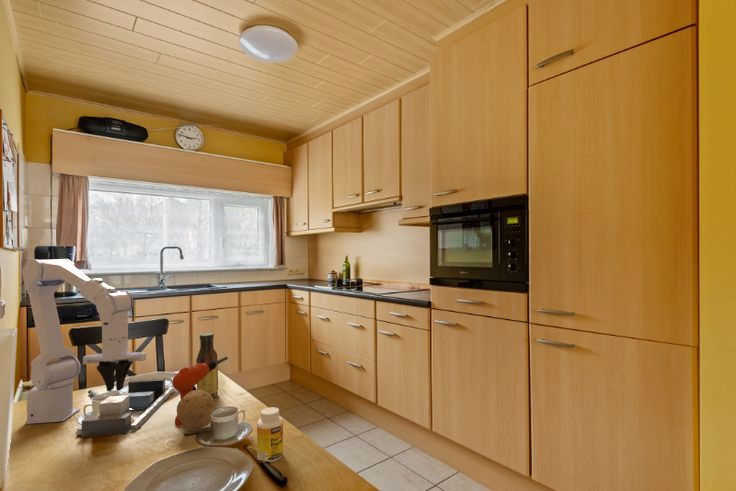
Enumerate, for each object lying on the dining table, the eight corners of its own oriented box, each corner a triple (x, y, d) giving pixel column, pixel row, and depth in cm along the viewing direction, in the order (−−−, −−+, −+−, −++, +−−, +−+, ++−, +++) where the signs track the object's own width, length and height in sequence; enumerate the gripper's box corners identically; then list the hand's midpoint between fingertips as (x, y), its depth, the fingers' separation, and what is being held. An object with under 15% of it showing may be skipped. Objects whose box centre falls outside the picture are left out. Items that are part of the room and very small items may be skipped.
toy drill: (237, 396, 117) (232, 349, 115) (183, 430, 100) (177, 375, 99) (225, 394, 119) (220, 347, 117) (171, 427, 102) (164, 372, 101)
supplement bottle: (271, 466, 81) (270, 417, 81) (251, 460, 84) (251, 412, 84) (288, 454, 86) (288, 408, 86) (269, 448, 89) (269, 403, 89)
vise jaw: (112, 411, 110) (112, 394, 110) (131, 396, 122) (131, 380, 122) (149, 409, 111) (149, 391, 111) (165, 394, 123) (165, 378, 123)
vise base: (73, 438, 95) (73, 421, 95) (128, 394, 124) (128, 381, 124) (133, 433, 97) (133, 417, 97) (173, 391, 126) (173, 379, 126)
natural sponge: (185, 422, 103) (184, 385, 103) (219, 420, 104) (219, 383, 104) (171, 439, 94) (171, 397, 94) (209, 436, 95) (208, 396, 95)
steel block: (99, 431, 98) (99, 403, 99) (109, 422, 103) (109, 396, 104) (120, 429, 99) (120, 402, 99) (129, 421, 104) (129, 395, 104)
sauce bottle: (202, 393, 124) (202, 331, 125) (221, 393, 124) (221, 331, 124) (192, 400, 118) (192, 335, 118) (212, 400, 118) (212, 335, 118)
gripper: (75, 342, 97) (75, 397, 97) (138, 340, 99) (138, 393, 99) (91, 336, 104) (91, 387, 104) (149, 334, 106) (149, 383, 106)
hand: (115, 389), depth 102 cm, fingers closed
